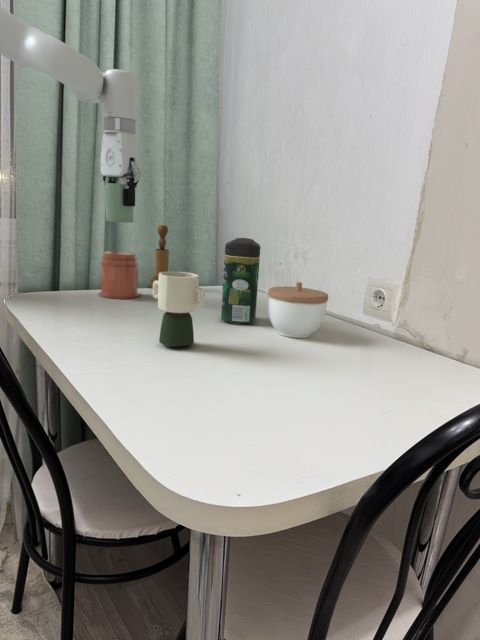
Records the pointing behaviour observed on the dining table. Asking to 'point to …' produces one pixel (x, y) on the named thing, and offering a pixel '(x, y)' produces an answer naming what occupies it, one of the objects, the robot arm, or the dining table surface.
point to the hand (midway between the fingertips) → (120, 204)
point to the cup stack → (119, 275)
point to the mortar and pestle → (161, 255)
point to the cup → (117, 205)
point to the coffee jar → (240, 281)
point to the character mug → (178, 306)
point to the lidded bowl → (296, 310)
